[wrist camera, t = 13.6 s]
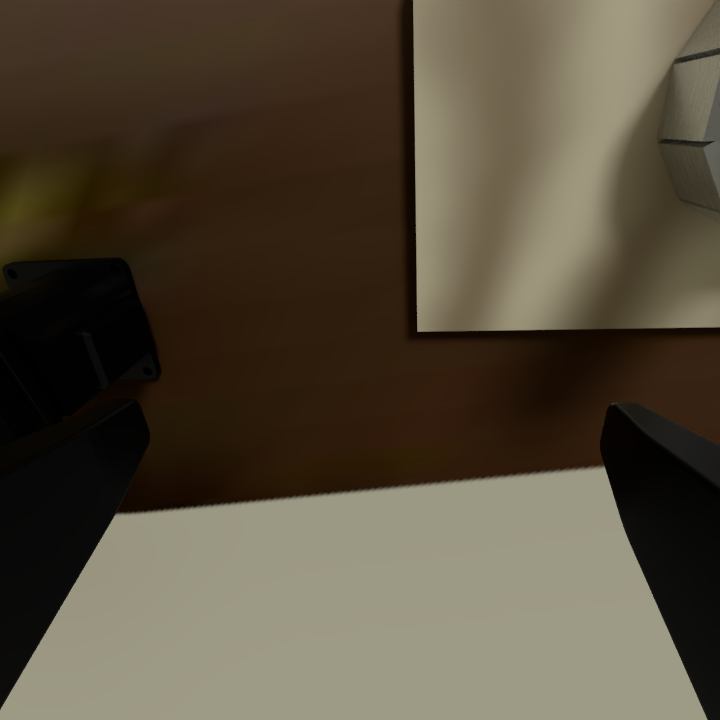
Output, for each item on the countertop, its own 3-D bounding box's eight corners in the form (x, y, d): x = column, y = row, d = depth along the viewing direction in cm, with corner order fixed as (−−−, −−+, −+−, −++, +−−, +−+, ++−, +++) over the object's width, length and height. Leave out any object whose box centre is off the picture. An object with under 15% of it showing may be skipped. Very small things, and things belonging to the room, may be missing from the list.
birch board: (417, 323, 22) (417, 331, 21) (413, -25, 16) (412, -34, 15) (847, 315, 19) (868, 324, 18) (1038, -102, 13) (1082, -118, 12)
